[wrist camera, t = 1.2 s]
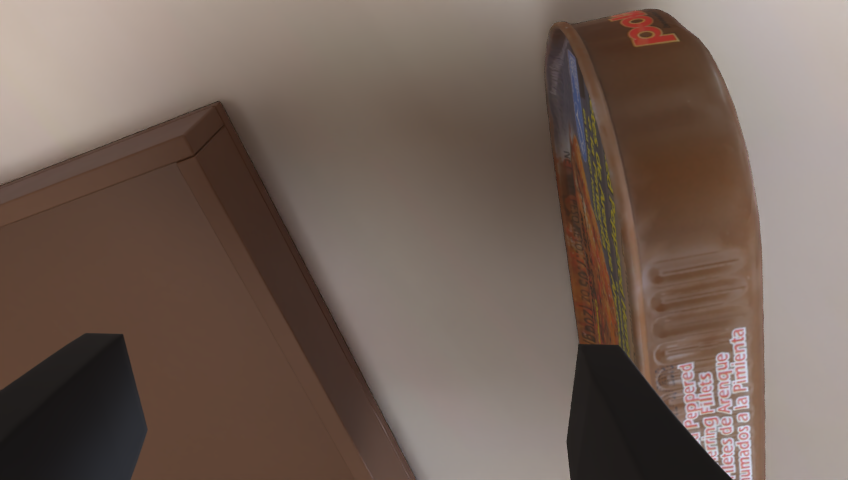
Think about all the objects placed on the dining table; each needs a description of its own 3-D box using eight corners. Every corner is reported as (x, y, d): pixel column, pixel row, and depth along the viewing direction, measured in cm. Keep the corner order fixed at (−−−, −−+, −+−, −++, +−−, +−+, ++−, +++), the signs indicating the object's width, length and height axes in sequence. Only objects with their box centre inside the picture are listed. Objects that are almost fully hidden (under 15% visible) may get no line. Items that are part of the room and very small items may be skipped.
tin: (530, -3, 19) (570, 81, 11) (654, -28, 18) (778, 42, 11) (591, 435, 25) (641, 671, 18) (683, 424, 25) (775, 661, 18)
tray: (443, 532, 28) (441, 601, 25) (56, 620, 32) (18, 688, 29) (220, 100, 21) (183, 134, 18) (-250, 282, 24) (-337, 333, 22)
